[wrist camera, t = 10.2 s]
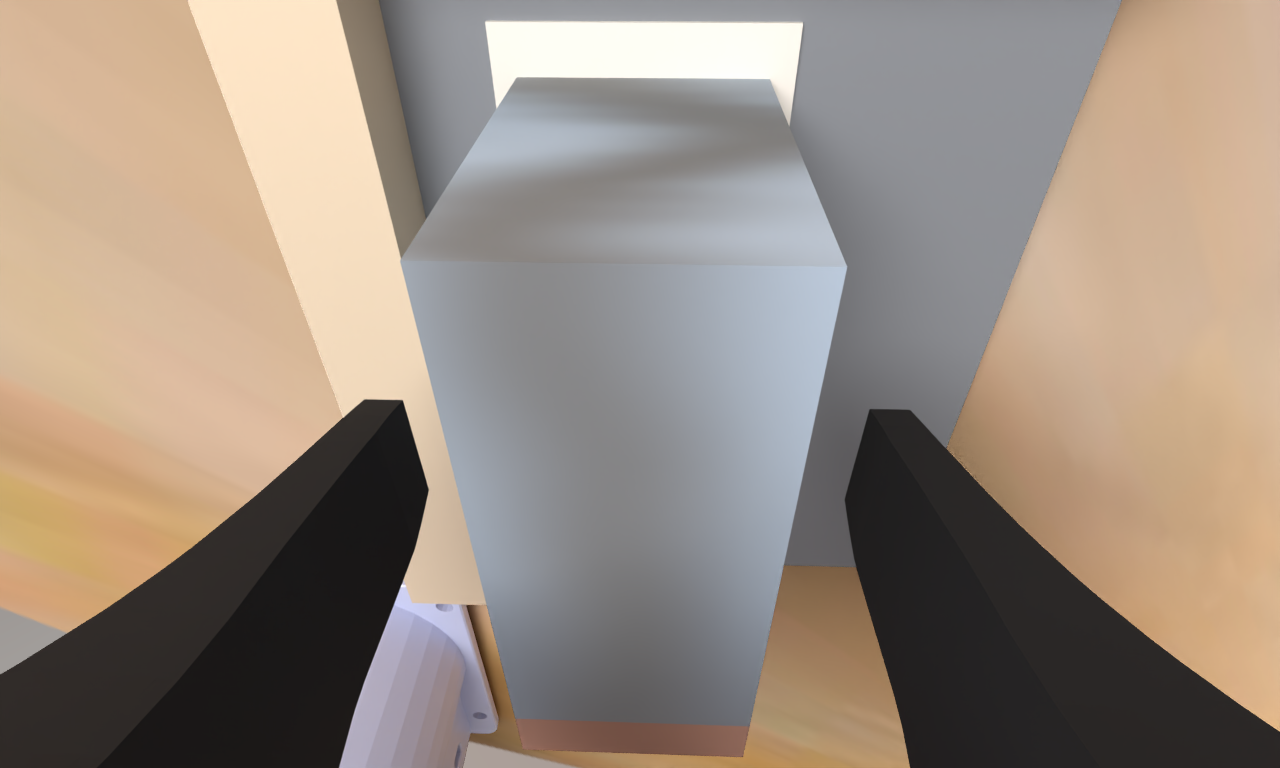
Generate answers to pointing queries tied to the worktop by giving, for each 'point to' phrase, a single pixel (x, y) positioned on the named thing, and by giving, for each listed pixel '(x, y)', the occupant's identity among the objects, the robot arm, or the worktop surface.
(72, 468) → the worktop surface
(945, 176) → the tray
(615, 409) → the painted block
